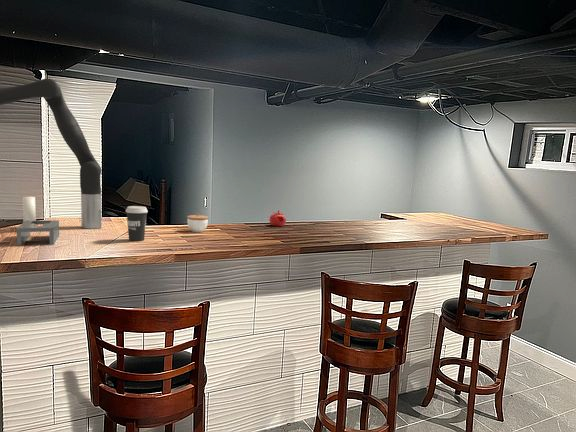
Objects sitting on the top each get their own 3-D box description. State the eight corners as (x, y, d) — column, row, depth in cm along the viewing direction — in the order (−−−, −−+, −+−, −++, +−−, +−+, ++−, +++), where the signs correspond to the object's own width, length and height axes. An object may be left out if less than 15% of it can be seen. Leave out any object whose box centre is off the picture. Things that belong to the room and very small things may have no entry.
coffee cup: (125, 238, 198) (125, 205, 196) (146, 237, 202) (147, 205, 200) (125, 242, 189) (125, 208, 187) (148, 241, 193) (148, 208, 191)
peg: (37, 229, 206) (36, 196, 204) (35, 232, 201) (34, 197, 199) (24, 230, 204) (23, 196, 202) (21, 232, 199) (20, 197, 197)
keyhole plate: (26, 236, 191) (25, 220, 190) (59, 235, 196) (58, 220, 195) (17, 245, 173) (16, 228, 172) (53, 244, 178) (53, 227, 177)
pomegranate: (266, 225, 255) (266, 210, 254) (275, 224, 264) (275, 208, 263) (280, 227, 250) (280, 211, 249) (289, 225, 259) (289, 210, 258)
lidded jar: (204, 229, 233) (205, 211, 231) (210, 232, 223) (210, 214, 222) (184, 229, 228) (185, 212, 227) (189, 233, 218) (189, 214, 217)
